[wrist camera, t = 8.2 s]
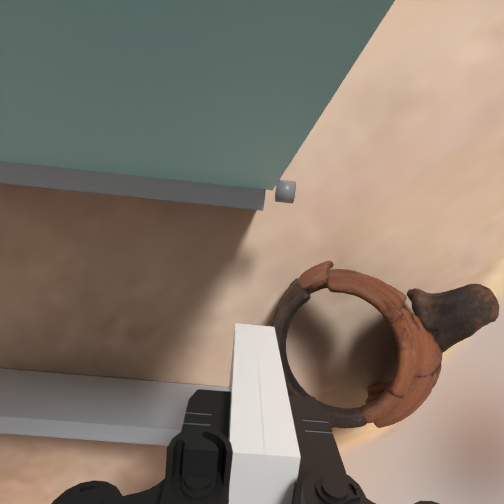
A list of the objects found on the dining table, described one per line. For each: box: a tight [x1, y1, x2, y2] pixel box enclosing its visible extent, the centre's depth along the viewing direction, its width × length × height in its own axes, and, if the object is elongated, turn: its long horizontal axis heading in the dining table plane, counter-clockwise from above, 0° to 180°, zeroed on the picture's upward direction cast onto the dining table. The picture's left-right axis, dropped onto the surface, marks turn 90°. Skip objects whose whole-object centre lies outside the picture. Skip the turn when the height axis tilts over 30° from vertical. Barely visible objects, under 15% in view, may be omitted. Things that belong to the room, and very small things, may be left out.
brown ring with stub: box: [271, 261, 499, 428], centre depth 21 cm, size 12×10×8 cm
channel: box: [0, 161, 296, 446], centre depth 20 cm, size 14×19×5 cm
